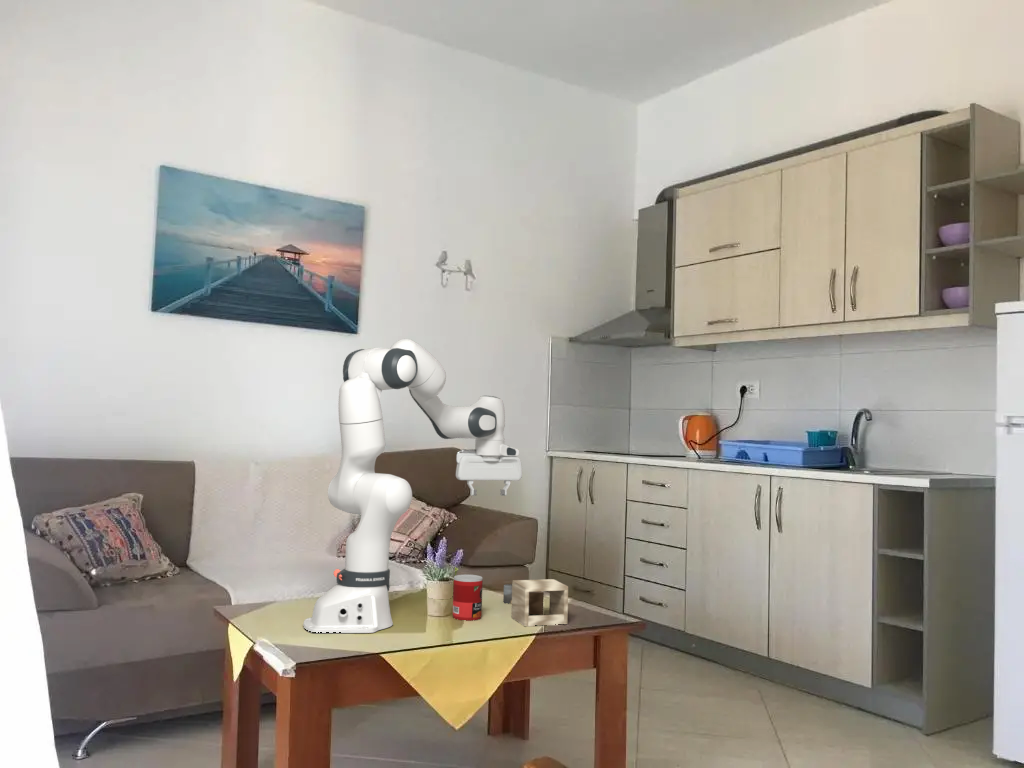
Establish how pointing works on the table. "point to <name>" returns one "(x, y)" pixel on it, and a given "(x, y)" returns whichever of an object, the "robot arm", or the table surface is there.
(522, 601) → the oak cubby
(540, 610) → the partly hidden dark block
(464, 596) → the canned food
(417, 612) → the table surface
